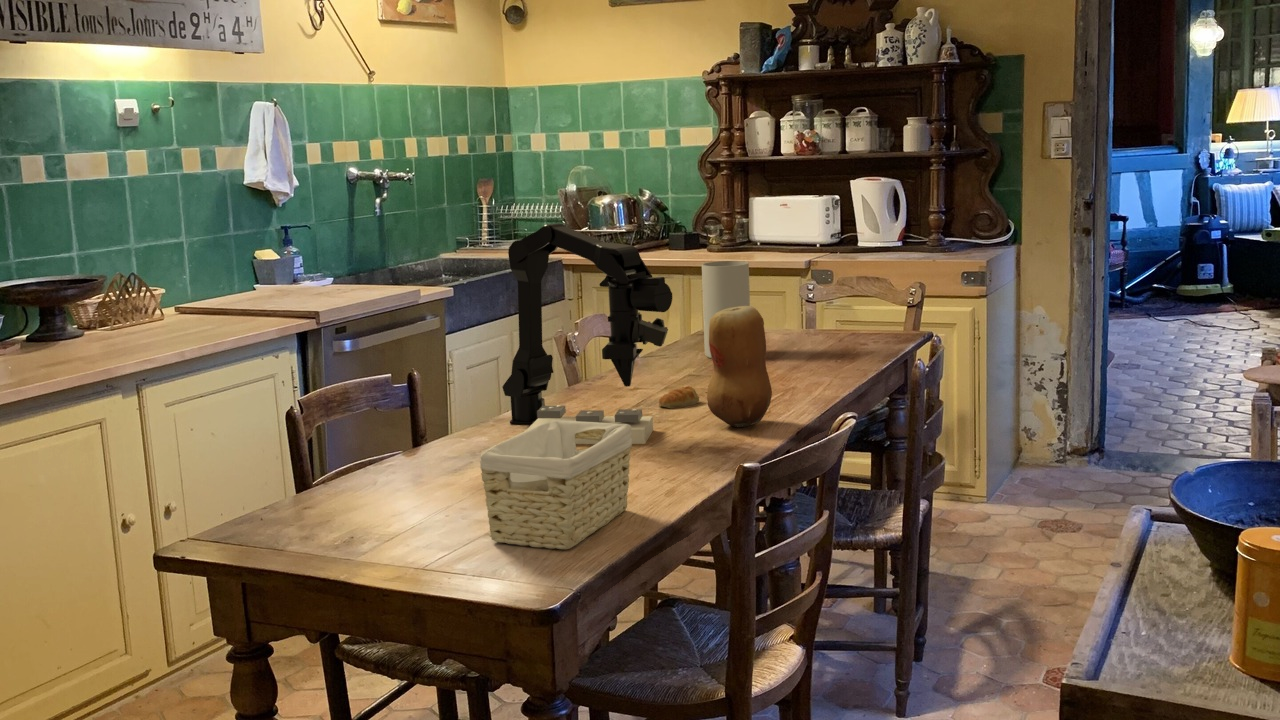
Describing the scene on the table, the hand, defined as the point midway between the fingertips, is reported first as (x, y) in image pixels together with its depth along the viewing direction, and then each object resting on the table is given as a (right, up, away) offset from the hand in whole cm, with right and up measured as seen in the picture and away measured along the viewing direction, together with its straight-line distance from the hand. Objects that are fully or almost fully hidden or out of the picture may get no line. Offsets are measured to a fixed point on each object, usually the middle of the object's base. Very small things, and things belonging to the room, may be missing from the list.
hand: (627, 386), depth 246 cm
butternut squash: (+24, -9, +7) cm, 26 cm away
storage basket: (-10, -22, -51) cm, 56 cm away
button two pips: (0, -7, +1) cm, 7 cm away
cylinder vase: (+26, +6, +83) cm, 88 cm away
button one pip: (-8, -7, +3) cm, 11 cm away
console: (-7, -11, +3) cm, 13 cm away
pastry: (+11, -5, +30) cm, 32 cm away
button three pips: (-16, -6, +4) cm, 17 cm away
